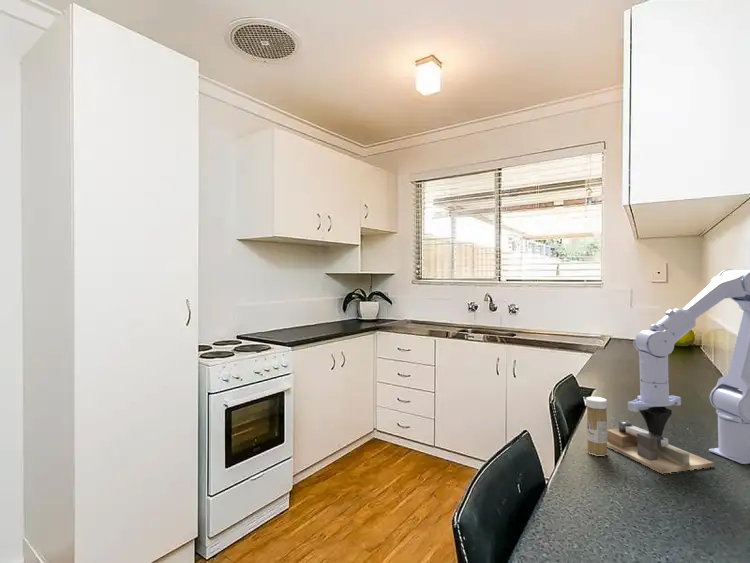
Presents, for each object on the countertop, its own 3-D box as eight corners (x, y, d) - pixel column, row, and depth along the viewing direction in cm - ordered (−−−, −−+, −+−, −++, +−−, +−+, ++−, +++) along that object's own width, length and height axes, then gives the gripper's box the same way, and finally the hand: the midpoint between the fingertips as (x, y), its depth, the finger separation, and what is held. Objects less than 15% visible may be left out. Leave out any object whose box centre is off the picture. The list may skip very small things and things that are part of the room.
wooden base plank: (645, 438, 112) (645, 415, 112) (713, 467, 95) (713, 440, 95) (600, 444, 109) (599, 420, 109) (661, 474, 91) (661, 446, 91)
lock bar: (615, 429, 108) (615, 421, 108) (625, 427, 109) (625, 420, 109) (659, 447, 96) (659, 438, 96) (670, 445, 97) (669, 437, 97)
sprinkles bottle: (583, 450, 105) (582, 396, 105) (600, 449, 106) (599, 395, 106) (594, 458, 101) (593, 401, 101) (612, 457, 101) (611, 400, 101)
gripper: (660, 374, 107) (662, 428, 107) (616, 380, 103) (617, 436, 103) (689, 380, 100) (690, 438, 100) (642, 386, 96) (644, 447, 96)
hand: (655, 438), depth 101 cm, fingers closed
